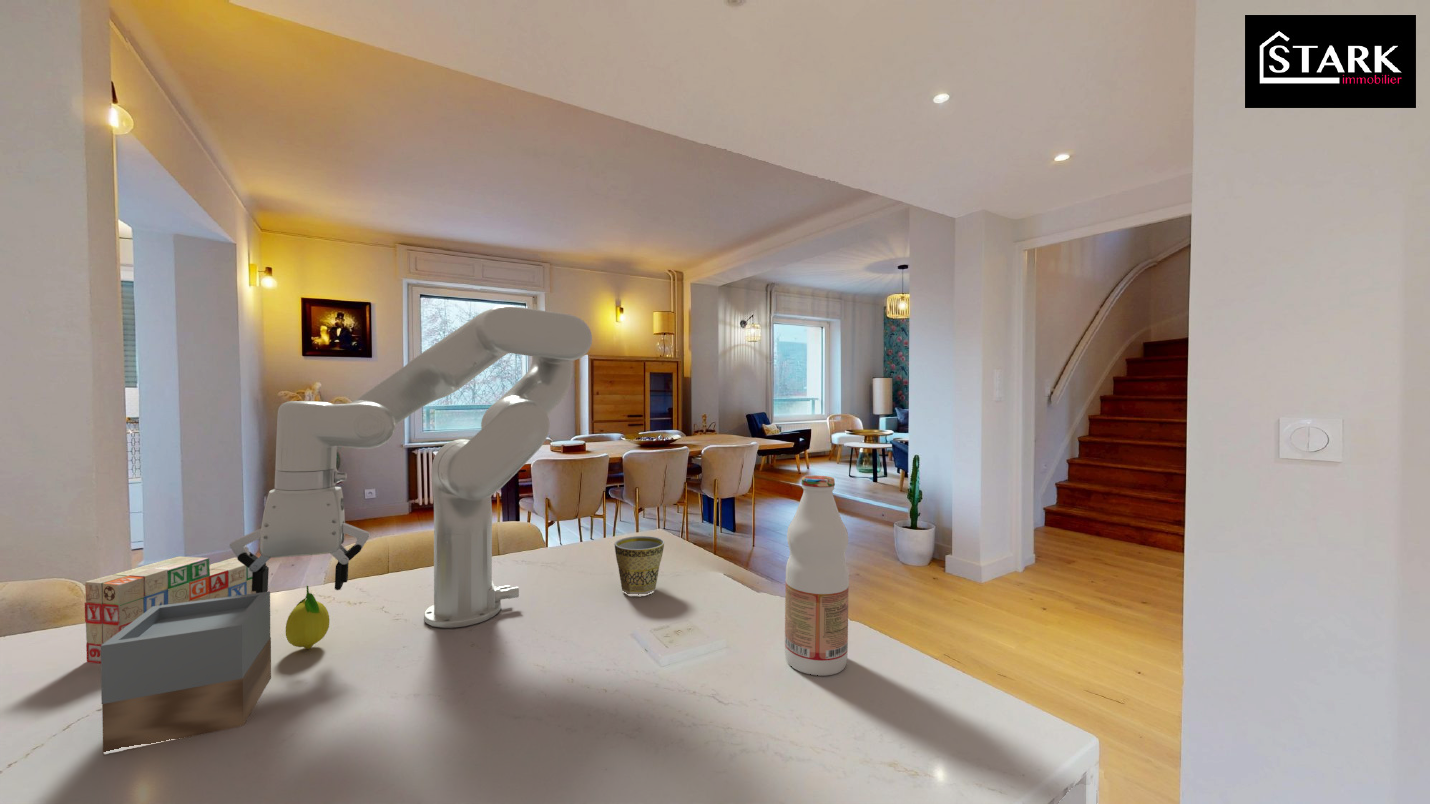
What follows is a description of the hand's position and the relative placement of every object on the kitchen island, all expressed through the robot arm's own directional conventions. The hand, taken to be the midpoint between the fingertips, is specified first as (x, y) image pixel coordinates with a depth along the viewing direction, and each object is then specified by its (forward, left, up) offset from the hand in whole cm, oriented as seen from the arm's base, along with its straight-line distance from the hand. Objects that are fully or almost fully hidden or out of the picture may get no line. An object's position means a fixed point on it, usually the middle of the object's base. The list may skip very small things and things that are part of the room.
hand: (301, 591), depth 83 cm
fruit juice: (-70, +38, -10) cm, 80 cm away
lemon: (-1, 0, -10) cm, 9 cm away
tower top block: (+8, +14, -4) cm, 16 cm away
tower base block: (+8, +14, -10) cm, 19 cm away
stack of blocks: (+19, -16, -10) cm, 27 cm away
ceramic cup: (-56, -2, -10) cm, 57 cm away
